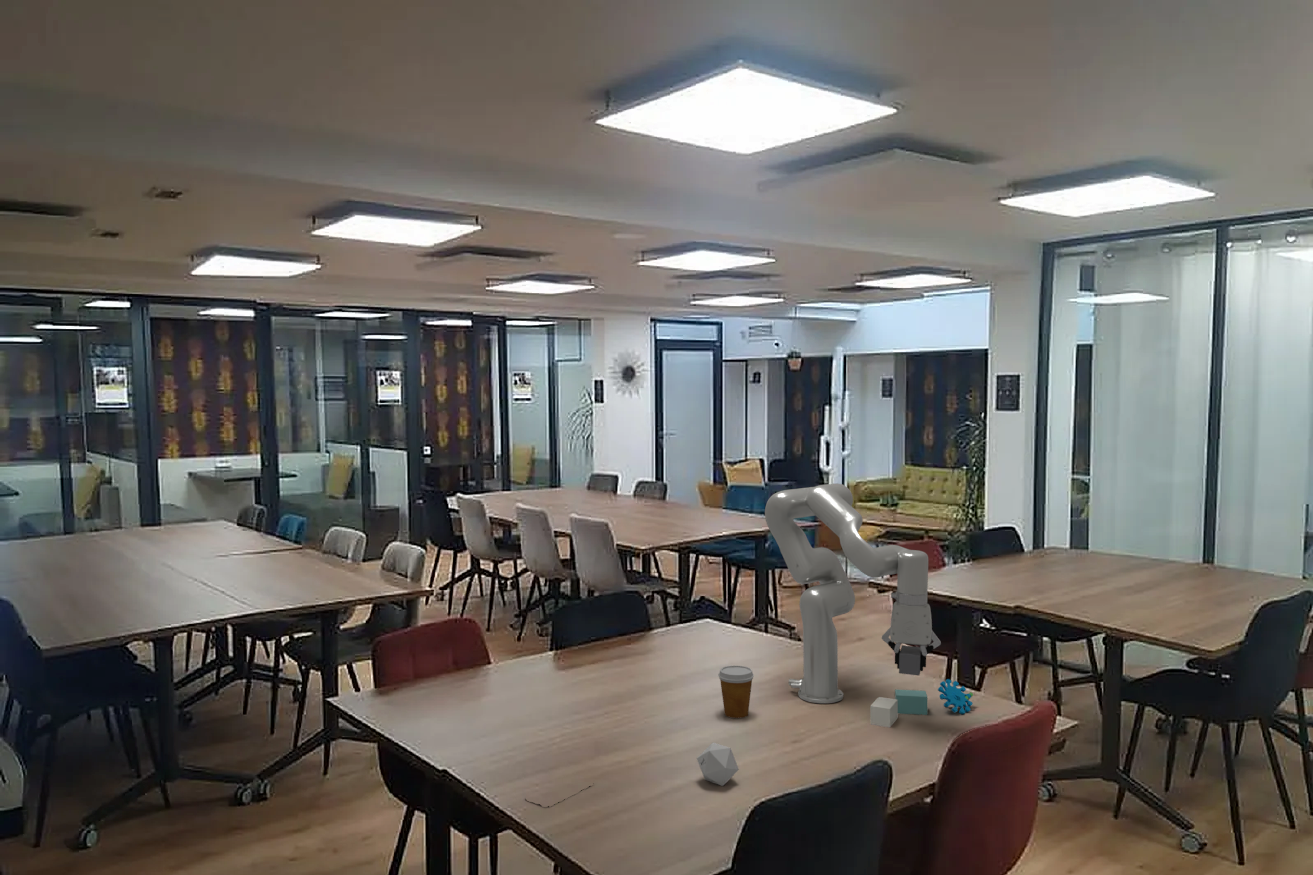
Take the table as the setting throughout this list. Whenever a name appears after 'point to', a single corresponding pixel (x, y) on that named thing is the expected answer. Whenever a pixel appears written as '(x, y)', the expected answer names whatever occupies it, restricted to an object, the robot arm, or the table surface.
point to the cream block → (884, 712)
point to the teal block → (911, 701)
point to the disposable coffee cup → (736, 690)
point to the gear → (955, 696)
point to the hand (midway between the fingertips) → (910, 667)
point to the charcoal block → (909, 660)
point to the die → (717, 764)
